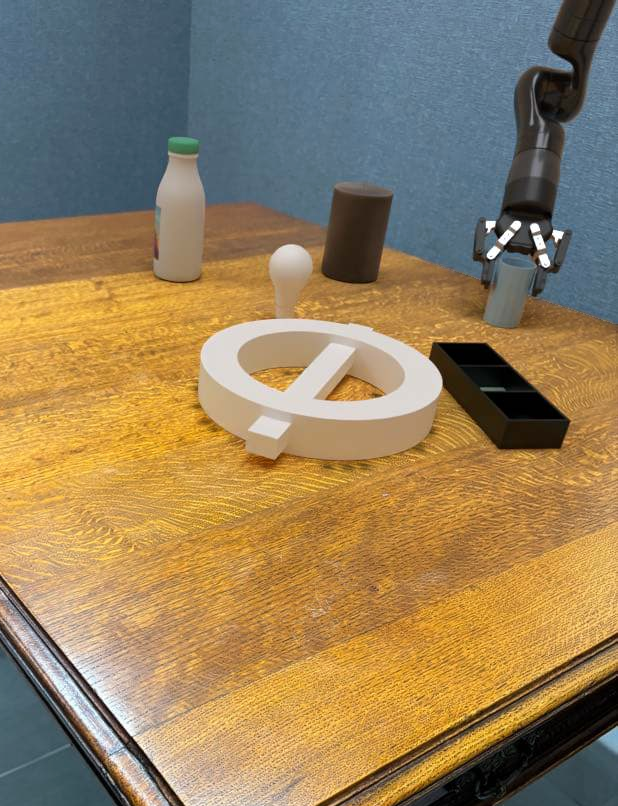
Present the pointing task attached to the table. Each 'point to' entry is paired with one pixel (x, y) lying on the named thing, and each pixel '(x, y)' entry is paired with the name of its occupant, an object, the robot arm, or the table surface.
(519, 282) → the cup
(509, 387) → the rack
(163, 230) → the milk bottle
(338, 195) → the pillar candle
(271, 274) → the lightbulb
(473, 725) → the table surface
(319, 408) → the ring with crossbar
